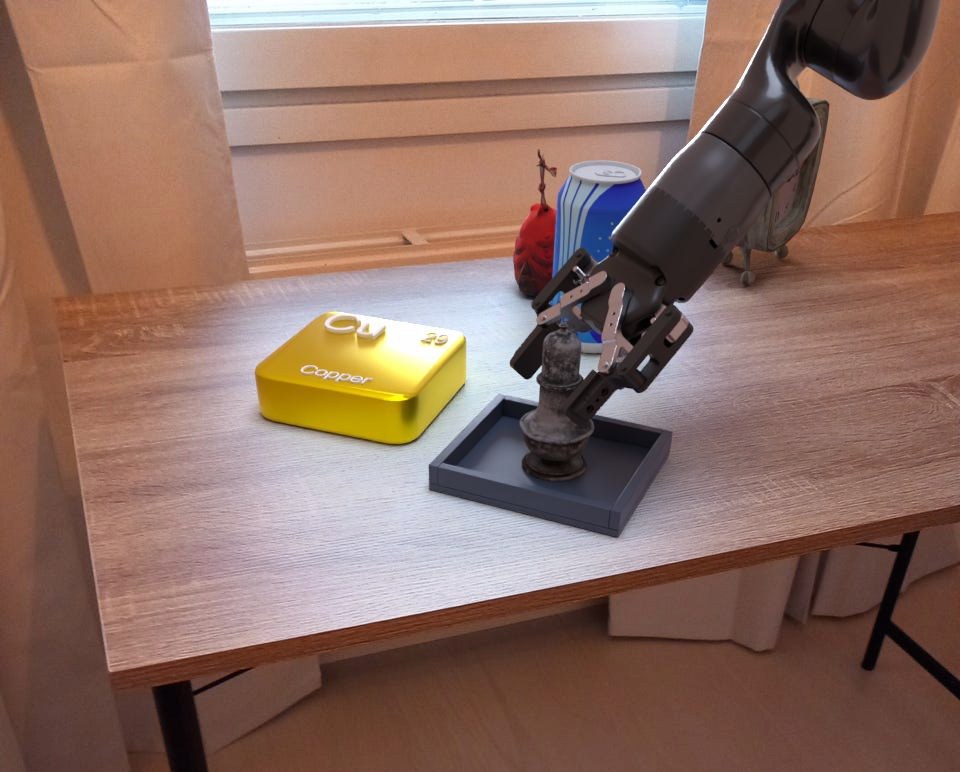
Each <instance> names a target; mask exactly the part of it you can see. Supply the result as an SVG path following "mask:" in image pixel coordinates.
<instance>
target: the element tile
mask: <svg viewBox="0 0 960 772" xmlns="http://www.w3.org/2000/svg"><path fill="white" fill-rule="evenodd" d="M466 337H467V336H465V335H464V334H463V333H462V332H460V331H456V330H450V329H446V328H439V327H432V326H428V325H427V326H426V325H421V324H414V323H409V322H402V321H394V320H389V319H383V318H379V317H372V316H365V315H359V314H353V313H348V312H347V313H346V312H340V311H327V312H325V313H323V314H321V315H319V316H317V317H315V318H314V319H312V321H310V323H308V324H307V325H305V326H304V327H303V328H301V329H300V330H298V332H297V333H295V334H294V335H293V336H292V337H291V338H289V339H288V340H287V341H286V342H284V343H283V344H282V345H280V346H279V347H278V348H276V349H275V350H274V351H273V352H272V353H270V355H269V354H268V356H267V357H265V358H264V359H263V360H262V361H261V362H259V363H258V364H257V365H256V366H255V369H254V378H255V385H256V386H255V387H256V394H257V401H258V408H259V412H260V414H261V415H262V417H264V418H265V419H267V420H270V421H272V422H276V423H281V424H286V425H291V426H296V427H302V428H306V429H312V430H317V431H321V432H325V433H326V432H327V433H333V434H338V435H341V436H348V437H353V438H357V439H363V440H367V441H373V442H378V443H382V444H389V445H403V444H408V443H410V442H412V441H415V440H416V439H417V438H419V437H420V436H421V434H422V433H423V432H424V431H426V429H427V427H429V425H430V424H431V423H432V422H433V421H434V419H435V418H436V417H437V416H438V415H439V414H440V412H441V411H442V410H443V409H444V408H445V407H446V406H447V404H448V403H449V402H451V399H453V397H454V396H455V395H456V394H457V392H459V390H460V389H461V388H462V387H463V386H464V385H465V383H466V381H467V338H466Z"/></svg>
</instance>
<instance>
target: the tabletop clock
mask: <svg viewBox="0 0 960 772" xmlns="http://www.w3.org/2000/svg"><path fill="white" fill-rule="evenodd" d="M798 79H799V78H797V79H796V81H795V85H796V86H797V88H798V89H799V90H800V91H801V89H800V83H799V80H798ZM806 98H807V99H808V101H809V102H810V103H811V105H812V106H813V108H814V109H815V111H816V113H817V115H818V117H819V120H820V125H821V133H820V137H819V140H818V142H817V144H816V146H815V147H814V149H813V150H812V152H811V153H810V154H809V155H808V157H807V158H806V159H805V160H804V161H803V163H802V164H801V165H800V166H799V167H798V168H797V170H796V171H795V172H794V173H793V174H792V176H791V177H790V178H789V179H788V180H787V181H786V183H785V184H784V185H783V186H782V187H781V188H780V190H779V191H778V192H777V193H776V194H775V195H774V197H773V198H772V199H771V200H770V201H769V202H768V204H767V205H766V206H765V207H764V209H763V210H762V212H761V213H760V215H759V216H758V218H757V220H756V221H755V223H754V224H753V225H752V227H751V228H750V229H749V231H748V232H747V233H746V234H745V236H744V237H743V238H742V239H741V240H740V241H739V243H738V244H737V245H736V246H735V247H738V248H739V250H740V252H741V254H742V261H743V267H744V268H743V269H744V271H743V272H742V273H741V275H740V280H739V281H740V283H741V284H742V285H743V286H745V287H750V286H752V285H753V284H754V282H755V280H756V275H755V273H754V271H751V253H752V250H753V251H757V252H758V251H759V252H764V253H769V254H773V253H774V256H775V257H776V258H777V259H779V260H783V259H785V258H786V257H788V254H789V247H788V246H787V244H788V243H789V242H790V241H791V240H792V239H793V238H794V237H795V236H796V235H797V234H798V233H799V231H800V230H801V229H802V227H803V226H804V224H805V222H806V219H807V216H808V212H809V209H810V206H811V202H812V199H813V195H814V191H815V186H816V181H817V178H818V175H819V174H818V173H819V170H820V165H821V159H822V154H823V150H824V144H825V139H826V138H825V137H826V132H827V128H828V121H829V114H830V113H829V112H830V103H829V102H828V100H825V99H821V98H814V97H813V98H812V97H806ZM717 110H718V109H716V110H715V111H714V112H713V113H712V114H711V115H710V117H709V119H708V120H707V122H708V121H709V120H710V119H711V118H712V116H713V115H714V114H715V113H716V112H717ZM733 260H734V253H733V251H731V252H730V253H729V254H728V256H727V257H726V258H725V259H724V260H723V261H722V262H721V264H722V265H724V264H727V265H729V264H731V263H732V262H733Z"/></svg>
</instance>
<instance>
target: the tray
mask: <svg viewBox="0 0 960 772" xmlns="http://www.w3.org/2000/svg"><path fill="white" fill-rule="evenodd" d="M538 403H539V401H535V400H531V399H526V398H521V397H517V396H512V395H509V394H508V395H507V394H504V393H503V394H502V393H497V395H496V396H495V397H494V398H493V399H492V400H490V401H489V403H487V405H486V406H484V408H483V409H482V410H481V411H480V412H479V413H478V414H477V415H476V416H475V417H474V418H473V419H472V420H471V421H470V422H469V423H468V424H467V425H466V426H465V427H464V428H463V429H462V430H461V431H460V433H458V434H457V435H456V436H455V438H453V439H452V440H451V442H449V444H448V445H446V447H445V448H444V449H443V450H442V451H441V452H440V453H438V455H437V456H436V457H435V458H433V460H432V461H431V462H430V463H429V464H428V489H429V490H431V491H435V492H439V493H443V494H446V495H450V496H455V497H459V498H463V499H466V500H470V501H474V502H477V503H481V504H486V505H489V506H493V507H497V508H500V509H506V510H509V511H512V512H517V513H521V514H524V515H529V516H533V517H535V518H539V519H540V518H541V519H545V520H548V521H552V522H555V523H561V524H564V525H568V526H571V527H576V528H579V529H584V530H588V531H591V532H595V533H599V534H603V535H607V536H612V537H615V538H619V537H620V534H621V533H622V531H623V530H624V528H625V527H626V525H627V523H628V521H630V519H631V517H632V515H633V514H634V512H635V511H636V509H637V507H638V506H639V504H640V502H641V501H642V500H643V498H644V496H645V495H646V493H647V491H648V489H649V488H650V487H651V485H652V484H653V482H654V480H655V479H656V477H657V475H658V473H660V470H661V469H662V467H663V465H664V464H665V463H666V462H667V459H668V457H669V456H670V454H671V453H670V452H671V447H672V440H673V434H674V431H672V430H668V429H663V428H660V427H655V426H650V425H645V424H641V423H636V422H632V421H627V420H622V419H617V418H613V417H608V416H604V415H600V414H595V415H594V416H593V418H591V420H592V421H593V423H594V431H593V433H592V434H591V435H590V436H589V440H588V443H587V444H586V446H585V448H584V450H583V451H582V452H581V453H579V454H580V455H581V456H583V457H584V459H585V460H586V463H587V468H586V471H585V472H584V473H583V474H582V475H581V476H579V477H577V478H575V479H571V480H567V481H546V480H541V479H538V478H535V477H533V476H531V475H529V474H528V473H527V472H525V471H524V469H523V468H522V463H521V461H522V458H523V456H524V455H526V454H527V453H528V452H530V450H529V449H528V447H527V445H526V443H525V440H524V438H523V432H522V431H521V429H520V425H519V422H520V420H521V418H522V417H523V416H524V415H525V414H526V413H528V412H530V411H532V410H535V409H537V407H538Z"/></svg>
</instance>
